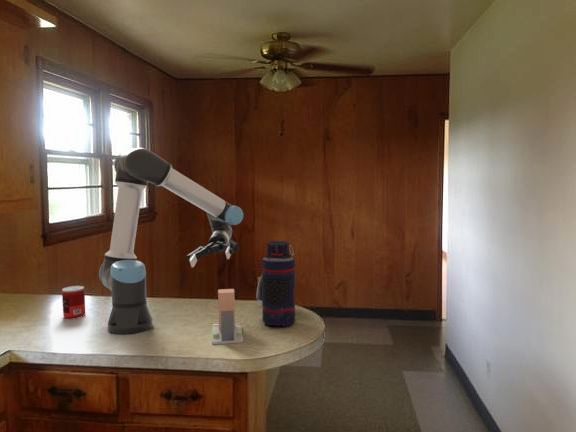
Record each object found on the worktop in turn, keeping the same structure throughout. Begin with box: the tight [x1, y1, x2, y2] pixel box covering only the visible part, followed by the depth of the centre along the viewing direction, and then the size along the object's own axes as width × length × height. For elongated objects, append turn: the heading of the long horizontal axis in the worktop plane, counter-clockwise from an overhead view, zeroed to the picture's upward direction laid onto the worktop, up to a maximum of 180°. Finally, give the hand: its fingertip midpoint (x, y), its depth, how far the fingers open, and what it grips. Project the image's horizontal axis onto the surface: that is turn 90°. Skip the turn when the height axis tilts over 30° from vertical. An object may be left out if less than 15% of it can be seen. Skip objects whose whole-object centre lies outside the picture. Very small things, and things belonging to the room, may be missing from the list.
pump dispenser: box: [255, 274, 262, 307], centre depth 192 cm, size 10×10×15 cm
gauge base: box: [211, 324, 244, 345], centre depth 157 cm, size 10×15×2 cm, turn 9°
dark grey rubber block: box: [221, 311, 234, 341], centre depth 151 cm, size 4×3×9 cm
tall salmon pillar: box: [212, 288, 242, 330], centre depth 162 cm, size 10×5×13 cm, turn 99°
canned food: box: [61, 285, 86, 320], centre depth 180 cm, size 8×8×11 cm
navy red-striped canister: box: [261, 240, 296, 329], centre depth 169 cm, size 14×12×30 cm
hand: (209, 259), depth 170 cm, fingers open, 13 cm apart
